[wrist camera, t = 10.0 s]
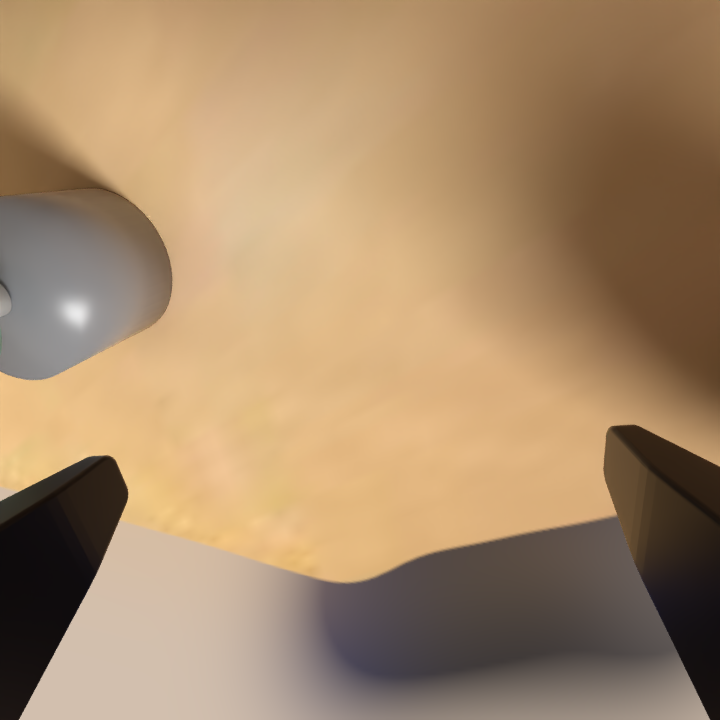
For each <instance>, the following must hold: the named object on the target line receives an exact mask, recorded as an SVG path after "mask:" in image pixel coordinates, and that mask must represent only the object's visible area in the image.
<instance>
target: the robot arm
mask: <svg viewBox="0 0 720 720" xmlns="http://www.w3.org/2000/svg"><path fill="white" fill-rule="evenodd" d="M604 477H605V481H606V484H607V487H608V490H609V492H610V495H611V498H612V501H613V504H614V507H615V510H616V512H617V515H618V518H619V521H620V524H621V526H622V529H623V532H624V535H625V538H626V541H627V544H628V547H629V549H630V552H631V554H632V557H633V560H634V563H635V565H636V567H637V570H638V572H639V574H640V576H641V578H642V581H643V583H644V585H645V587H646V589H647V591H648V593H649V595H650V597H651V599H652V601H653V603H654V605H655V607H656V609H657V611H658V613H659V616H660V617H661V619H662V622H663V624H664V626H665V628H666V630H667V632H668V634H669V636H670V638H671V640H672V642H673V644H674V646H675V648H676V650H677V653H678V654H679V657H680V658H681V661H682V663H683V665H684V667H685V669H686V671H687V673H688V675H689V677H690V679H691V681H692V683H693V685H694V687H695V689H696V691H697V694H698V696H699V698H700V700H701V702H702V704H703V706H704V708H705V710H706V712H707V714H708V716H709V718H710V720H720V467H719V466H717V465H715V464H713V463H711V462H709V461H707V460H705V459H703V458H701V457H699V456H697V455H695V454H693V453H691V452H689V451H687V450H685V449H683V448H681V447H679V446H677V445H675V444H673V443H671V442H669V441H667V440H665V439H663V438H661V437H659V436H657V435H655V434H653V433H652V432H650V431H648V430H646V429H644V428H642V427H639V426H637V425H620V426H611V427H610V428H609V429H608V431H607V434H606V444H605V456H604ZM127 500H128V489H127V486H126V484H125V481H124V479H123V477H122V474H121V472H120V470H119V467H118V465H117V463H116V461H115V459H114V458H113V457H111V456H108V455H106V456H91V457H87V458H85V459H83V460H81V461H79V462H77V463H75V464H73V465H71V466H69V467H67V468H65V469H63V470H61V471H59V472H57V473H55V474H53V475H51V476H49V477H47V478H45V479H43V480H42V481H40V482H38V483H36V484H34V485H32V486H30V487H28V488H26V489H24V490H22V491H20V492H18V493H16V494H14V495H12V496H10V497H8V498H6V499H4V500H2V501H0V720H19V719H20V717H21V715H22V713H23V711H24V709H25V707H26V705H27V704H28V702H29V700H30V698H31V696H32V694H33V692H34V690H35V689H36V687H37V685H38V683H39V681H40V679H41V677H42V675H43V673H44V672H45V670H46V668H47V666H48V664H49V662H50V660H51V659H52V657H53V655H54V653H55V651H56V649H57V647H58V646H59V643H60V642H61V640H62V638H63V636H64V634H65V632H66V631H67V628H68V627H69V625H70V623H71V621H72V619H73V617H74V616H75V614H76V612H77V610H78V608H79V606H80V604H81V602H82V600H83V599H84V597H85V595H86V593H87V591H88V589H89V587H90V586H91V583H92V582H93V579H94V578H95V576H96V574H97V571H98V569H99V567H100V565H101V562H102V560H103V558H104V555H105V553H106V551H107V548H108V546H109V543H110V541H111V539H112V536H113V534H114V531H115V529H116V527H117V525H118V522H119V520H120V517H121V515H122V513H123V510H124V508H125V506H126V503H127Z"/></svg>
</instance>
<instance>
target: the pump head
mask: <svg viewBox="0 0 720 720" xmlns="http://www.w3.org/2000/svg"><path fill="white" fill-rule="evenodd" d="M10 310H11V299H10V296H9V294H8V292H7V291H6V289H5V288H4V287H3V286H2V285H1V284H0V317H1V316H4V315H7V314H8V313H9V312H10ZM1 349H2V335H1V329H0V355H1Z"/></svg>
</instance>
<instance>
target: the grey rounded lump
mask: <svg viewBox="0 0 720 720" xmlns="http://www.w3.org/2000/svg"><path fill="white" fill-rule="evenodd" d="M0 284H1V285H2V286H3V287H4V288H5V289H6V291H7V292H8V294H9V296H10V299H11V310H10V312H9V313H8V314H7V315H4V316H1V317H0V329H1V335H2V349H1V355H0V371H1V372H3V373H5V374H7V375H10V376H13V377H16V378H21V379H26V380H42V379H47V378H50V377H53V376H55V375H57V374H59V373H61V372H63V371H65V370H67V369H69V368H71V367H73V366H75V365H77V364H79V363H80V362H82V361H84V360H86V359H88V358H90V357H92V356H94V355H96V354H98V353H100V352H102V351H104V350H106V349H108V348H110V347H112V346H114V345H116V344H117V343H119V342H121V341H123V340H125V339H127V338H129V337H131V336H133V335H135V334H137V333H139V332H141V331H143V330H145V329H147V328H149V327H150V326H152V325H153V324H155V323H156V322H157V321H158V320H159V319H160V318H161V316H162V315H163V313H164V312H165V310H166V308H167V306H168V304H169V300H170V297H171V291H172V271H171V265H170V260H169V257H168V254H167V251H166V248H165V246H164V244H163V241H162V239H161V237H160V236H159V234H158V232H157V230H156V229H155V228H154V226H153V225H152V223H151V222H150V221H149V220H148V218H147V217H146V216H145V215H144V214H143V213H142V212H141V211H140V210H139V209H138V208H137V207H136V206H134V205H133V204H132V203H130V202H129V201H128V200H126V199H124V198H123V197H121V196H119V195H117V194H115V193H112V192H110V191H106V190H102V189H96V188H85V189H73V190H63V191H52V192H41V193H30V194H20V195H9V196H0Z"/></svg>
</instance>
